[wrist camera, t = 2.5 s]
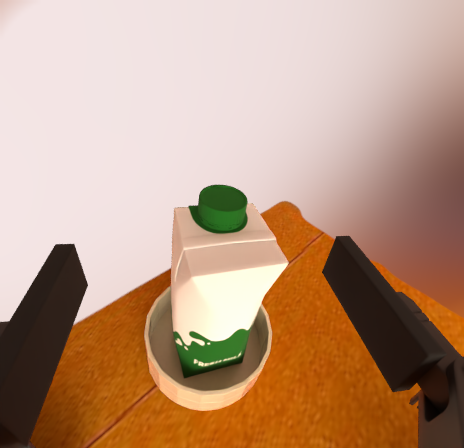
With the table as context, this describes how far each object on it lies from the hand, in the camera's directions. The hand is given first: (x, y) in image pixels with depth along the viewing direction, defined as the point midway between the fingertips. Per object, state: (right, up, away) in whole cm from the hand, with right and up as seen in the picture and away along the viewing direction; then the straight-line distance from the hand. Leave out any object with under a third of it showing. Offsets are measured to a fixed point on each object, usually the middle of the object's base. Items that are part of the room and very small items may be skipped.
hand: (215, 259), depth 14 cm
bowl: (-2, -13, +19) cm, 23 cm away
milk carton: (-2, -13, +19) cm, 23 cm away
